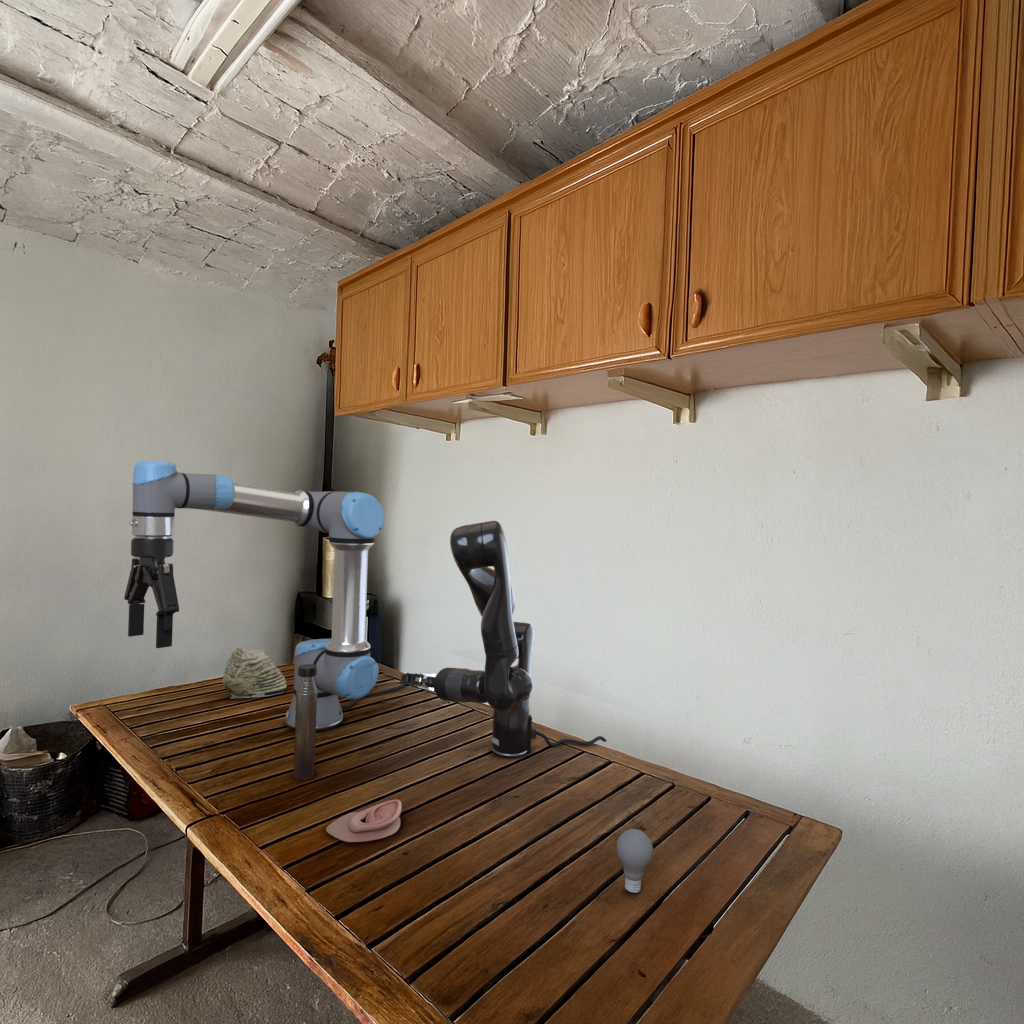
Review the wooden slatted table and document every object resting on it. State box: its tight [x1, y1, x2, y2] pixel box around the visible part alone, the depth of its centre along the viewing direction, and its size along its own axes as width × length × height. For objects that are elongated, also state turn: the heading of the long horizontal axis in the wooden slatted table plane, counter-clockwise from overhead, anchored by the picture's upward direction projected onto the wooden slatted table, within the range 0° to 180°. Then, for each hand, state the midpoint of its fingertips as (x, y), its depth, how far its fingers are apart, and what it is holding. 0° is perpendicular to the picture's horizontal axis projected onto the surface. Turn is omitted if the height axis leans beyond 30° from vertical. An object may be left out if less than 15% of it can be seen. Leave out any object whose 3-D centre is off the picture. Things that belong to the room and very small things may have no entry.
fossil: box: [222, 646, 288, 699], centre depth 198 cm, size 9×18×15 cm, turn 132°
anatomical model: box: [325, 799, 403, 843], centre depth 122 cm, size 13×4×12 cm
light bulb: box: [615, 828, 654, 894], centre depth 106 cm, size 6×6×10 cm
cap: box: [298, 664, 317, 677], centre depth 143 cm, size 4×4×2 cm
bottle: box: [292, 676, 317, 781], centre depth 143 cm, size 4×4×24 cm
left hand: (149, 641), depth 129 cm, fingers open, 13 cm apart
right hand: (416, 681), depth 157 cm, fingers open, 8 cm apart
